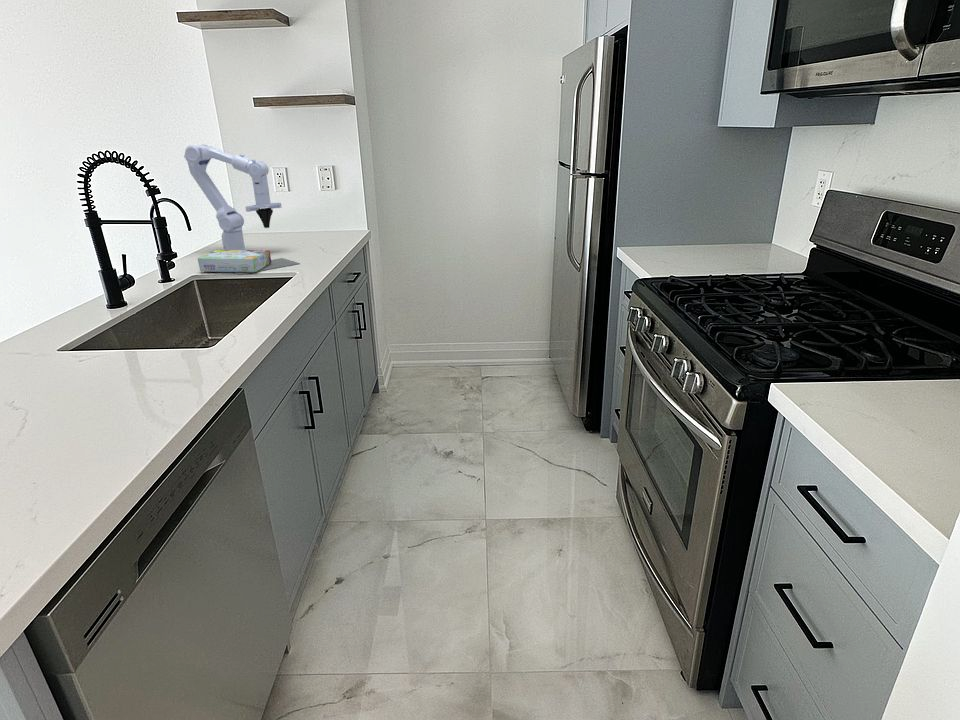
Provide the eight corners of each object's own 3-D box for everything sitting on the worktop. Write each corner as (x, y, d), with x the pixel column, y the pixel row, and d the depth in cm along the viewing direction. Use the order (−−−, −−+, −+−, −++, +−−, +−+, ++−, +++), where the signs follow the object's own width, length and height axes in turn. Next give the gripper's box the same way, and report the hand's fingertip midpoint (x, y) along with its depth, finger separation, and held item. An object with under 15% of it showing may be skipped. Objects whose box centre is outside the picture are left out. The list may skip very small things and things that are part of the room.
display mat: (223, 268, 232) (222, 268, 232) (282, 258, 248) (282, 257, 247) (239, 275, 223) (239, 274, 223) (300, 264, 238) (299, 263, 238)
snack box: (270, 248, 236) (253, 258, 222) (272, 263, 238) (255, 273, 224) (216, 248, 238) (196, 258, 224) (218, 262, 240) (199, 273, 226)
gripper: (249, 196, 242) (254, 231, 247) (283, 192, 252) (287, 226, 257) (241, 194, 247) (246, 229, 252) (274, 191, 256) (279, 224, 261)
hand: (266, 227), depth 255 cm, fingers closed
